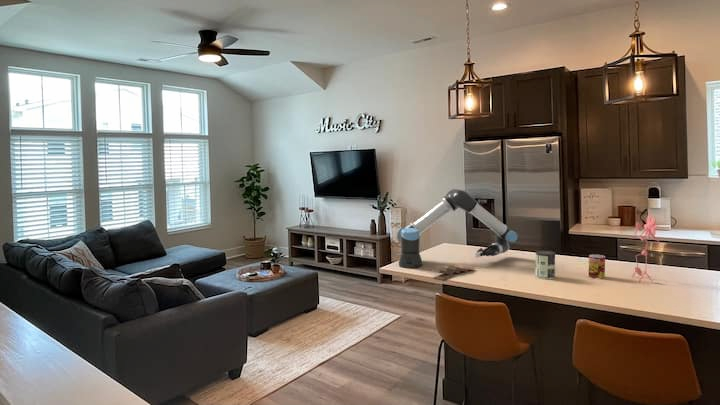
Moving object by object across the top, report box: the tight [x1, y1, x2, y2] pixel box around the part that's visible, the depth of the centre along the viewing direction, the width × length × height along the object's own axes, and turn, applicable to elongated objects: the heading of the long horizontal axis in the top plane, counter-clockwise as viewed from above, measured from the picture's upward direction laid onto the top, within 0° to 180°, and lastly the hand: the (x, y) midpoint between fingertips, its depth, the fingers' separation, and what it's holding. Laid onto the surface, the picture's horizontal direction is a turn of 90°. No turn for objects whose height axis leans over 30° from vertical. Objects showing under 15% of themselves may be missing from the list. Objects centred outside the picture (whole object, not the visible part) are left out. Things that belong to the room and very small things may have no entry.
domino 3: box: [433, 273, 454, 282], centre depth 242 cm, size 2×6×11 cm
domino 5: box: [454, 263, 476, 271], centre depth 257 cm, size 2×6×11 cm
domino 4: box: [447, 265, 469, 273], centre depth 253 cm, size 2×6×11 cm
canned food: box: [588, 254, 606, 280], centre depth 237 cm, size 8×8×12 cm
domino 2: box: [431, 268, 455, 276], centre depth 246 cm, size 2×6×11 cm
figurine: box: [631, 215, 660, 283], centre depth 229 cm, size 15×26×35 cm, turn 169°
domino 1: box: [438, 266, 461, 274], centre depth 250 cm, size 2×6×11 cm
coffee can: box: [534, 250, 556, 280], centre depth 239 cm, size 10×10×14 cm
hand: (476, 255), depth 267 cm, fingers closed
